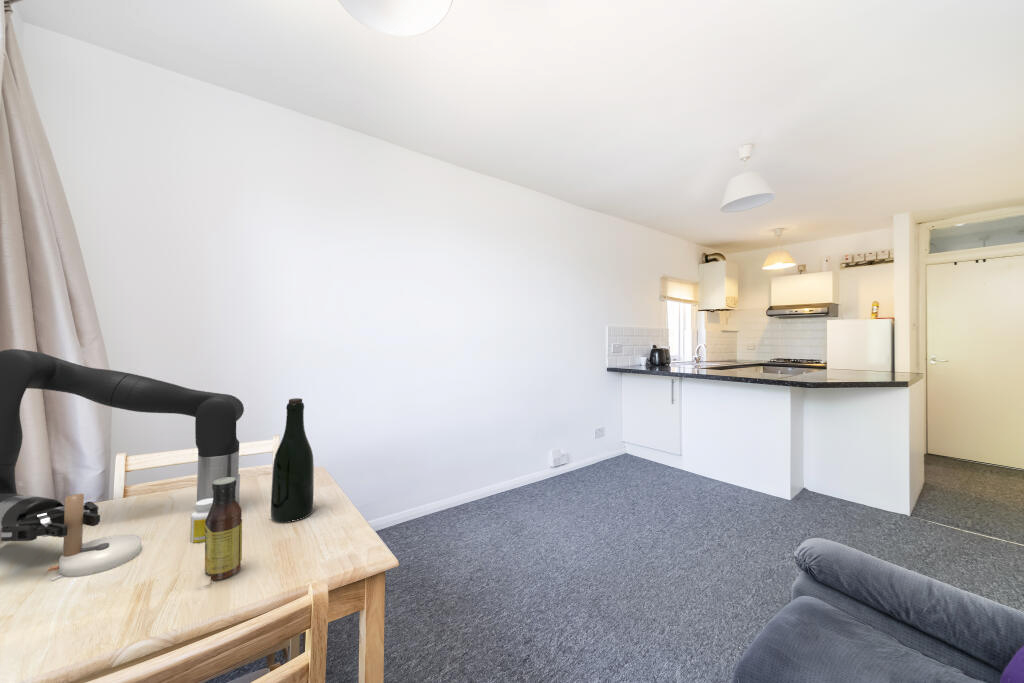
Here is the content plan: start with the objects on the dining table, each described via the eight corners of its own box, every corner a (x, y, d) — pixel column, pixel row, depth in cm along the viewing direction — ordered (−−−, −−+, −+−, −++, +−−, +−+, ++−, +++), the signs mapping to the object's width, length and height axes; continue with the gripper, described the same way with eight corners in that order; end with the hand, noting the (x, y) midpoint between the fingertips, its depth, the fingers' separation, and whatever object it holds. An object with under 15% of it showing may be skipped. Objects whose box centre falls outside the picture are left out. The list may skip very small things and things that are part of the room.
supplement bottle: (223, 539, 93) (224, 499, 94) (197, 550, 89) (198, 508, 89) (210, 534, 96) (212, 495, 96) (185, 544, 91) (186, 503, 91)
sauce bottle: (217, 564, 83) (220, 474, 83) (248, 564, 83) (250, 473, 84) (195, 583, 76) (198, 485, 77) (228, 582, 77) (231, 484, 77)
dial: (149, 540, 90) (151, 479, 90) (128, 567, 80) (130, 497, 80) (77, 552, 84) (79, 487, 84) (44, 583, 74) (47, 508, 74)
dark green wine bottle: (273, 527, 100) (276, 402, 100) (268, 513, 108) (271, 397, 108) (316, 516, 106) (320, 399, 107) (309, 504, 115) (312, 395, 115)
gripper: (-26, 511, 76) (31, 523, 72) (72, 486, 90) (124, 494, 85) (-27, 549, 76) (30, 563, 72) (70, 517, 90) (123, 528, 85)
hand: (81, 525), depth 79 cm, fingers open, 4 cm apart
